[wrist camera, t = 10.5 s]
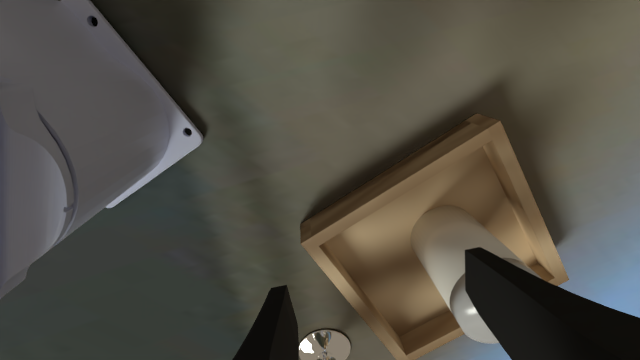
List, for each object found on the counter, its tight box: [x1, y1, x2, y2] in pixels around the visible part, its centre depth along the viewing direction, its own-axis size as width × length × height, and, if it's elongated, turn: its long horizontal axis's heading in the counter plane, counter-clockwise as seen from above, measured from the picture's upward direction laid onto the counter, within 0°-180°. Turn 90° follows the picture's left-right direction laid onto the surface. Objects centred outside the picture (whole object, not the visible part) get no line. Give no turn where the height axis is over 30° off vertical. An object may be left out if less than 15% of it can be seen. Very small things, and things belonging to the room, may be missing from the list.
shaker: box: [411, 205, 542, 343], centre depth 19 cm, size 5×5×7 cm
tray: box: [300, 113, 569, 360], centre depth 22 cm, size 14×14×2 cm
